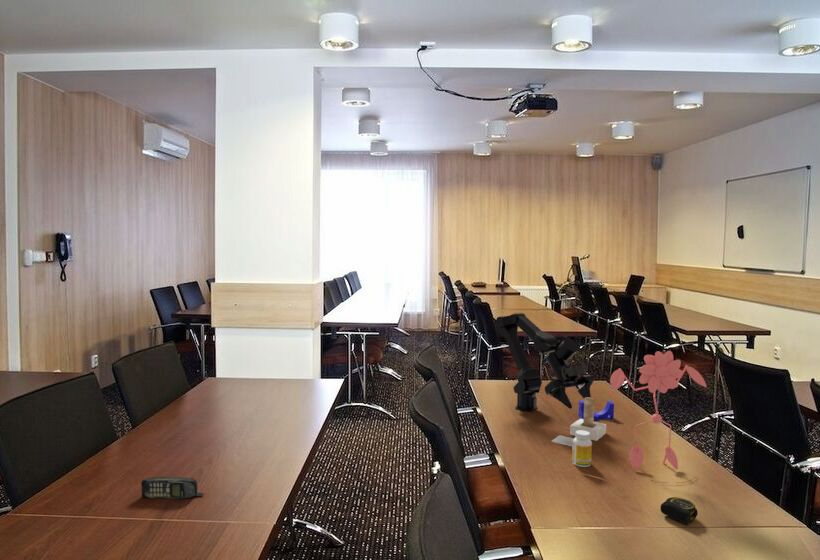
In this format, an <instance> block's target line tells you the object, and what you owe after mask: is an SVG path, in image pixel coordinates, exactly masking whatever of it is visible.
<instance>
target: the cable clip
mask: <svg viewBox="0 0 820 560" xmlns="http://www.w3.org/2000/svg"><path fill="white" fill-rule="evenodd" d="M614 412H615V403H614V402H613V401H612V400H607V401H606V405H605V407H604V408H603V409H602V410H600V411H598V412H597V411H596V412H594V421H599V420H614V417H615V416H614V415H615V413H614ZM578 418H579V419H584V400H578Z"/></svg>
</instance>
